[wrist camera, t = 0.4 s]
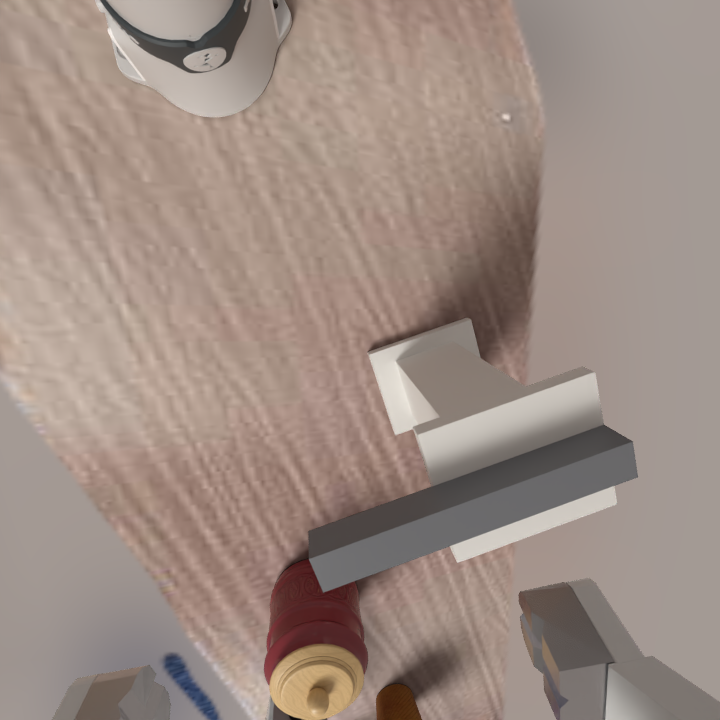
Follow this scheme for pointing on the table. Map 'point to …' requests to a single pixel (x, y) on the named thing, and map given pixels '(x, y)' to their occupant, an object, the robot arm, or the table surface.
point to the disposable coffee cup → (396, 704)
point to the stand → (483, 418)
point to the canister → (314, 645)
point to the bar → (469, 506)
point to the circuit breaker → (278, 713)
